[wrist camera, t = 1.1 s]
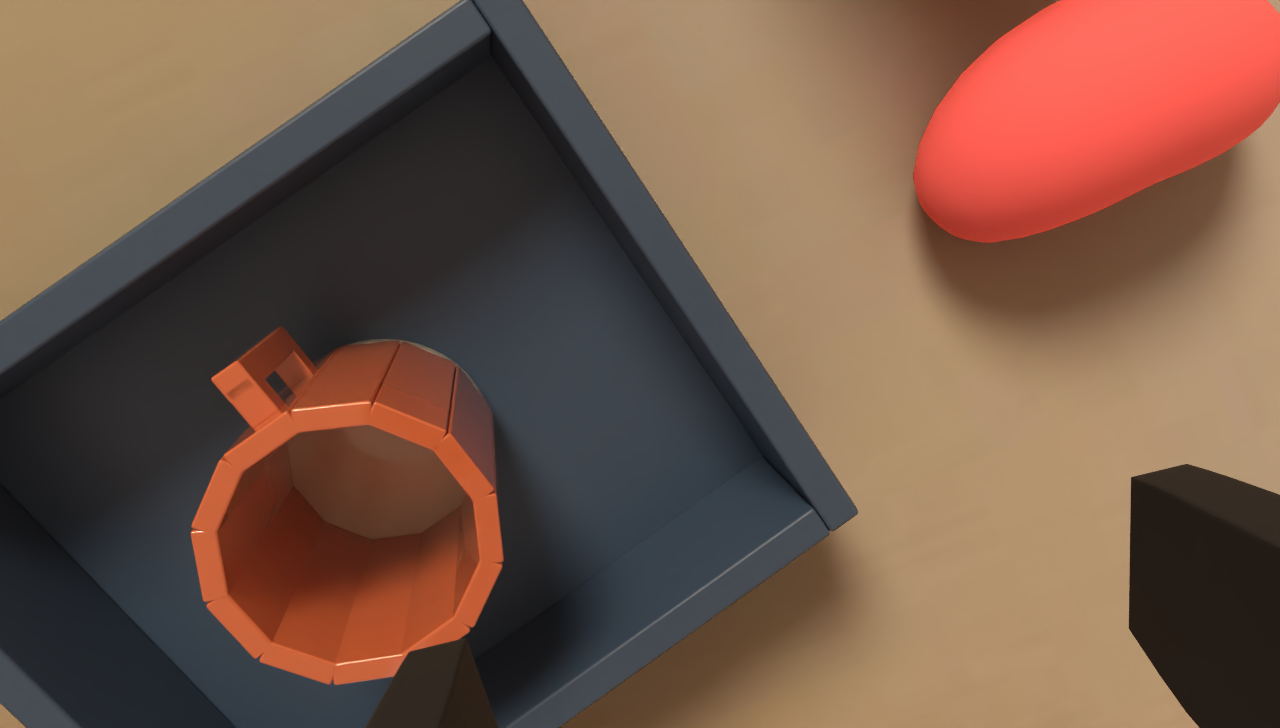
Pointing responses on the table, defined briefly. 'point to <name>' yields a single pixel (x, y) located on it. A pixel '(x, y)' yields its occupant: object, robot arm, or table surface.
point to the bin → (420, 313)
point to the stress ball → (1094, 110)
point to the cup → (350, 508)
